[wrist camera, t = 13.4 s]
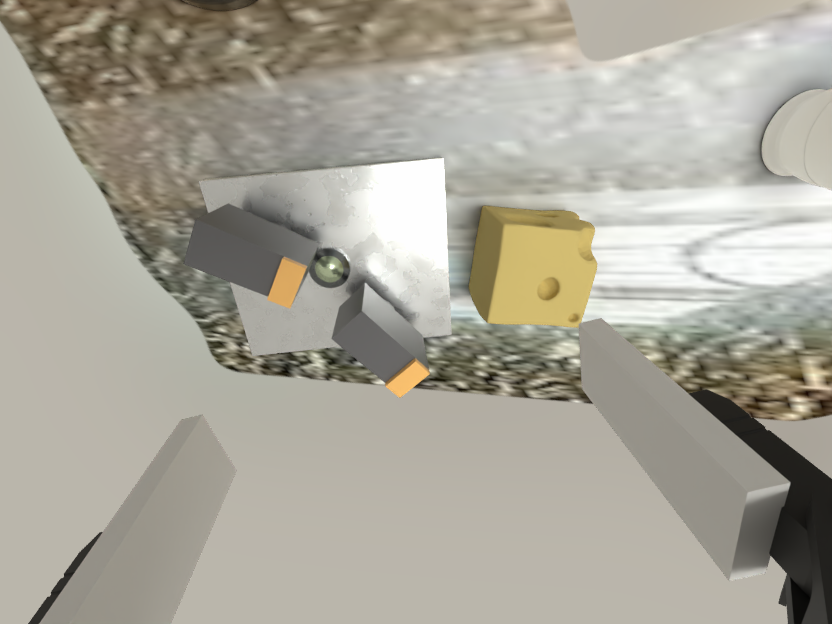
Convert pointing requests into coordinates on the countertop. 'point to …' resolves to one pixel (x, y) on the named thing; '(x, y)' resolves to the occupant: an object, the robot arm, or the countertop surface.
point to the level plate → (348, 246)
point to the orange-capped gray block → (381, 340)
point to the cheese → (532, 267)
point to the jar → (802, 139)
